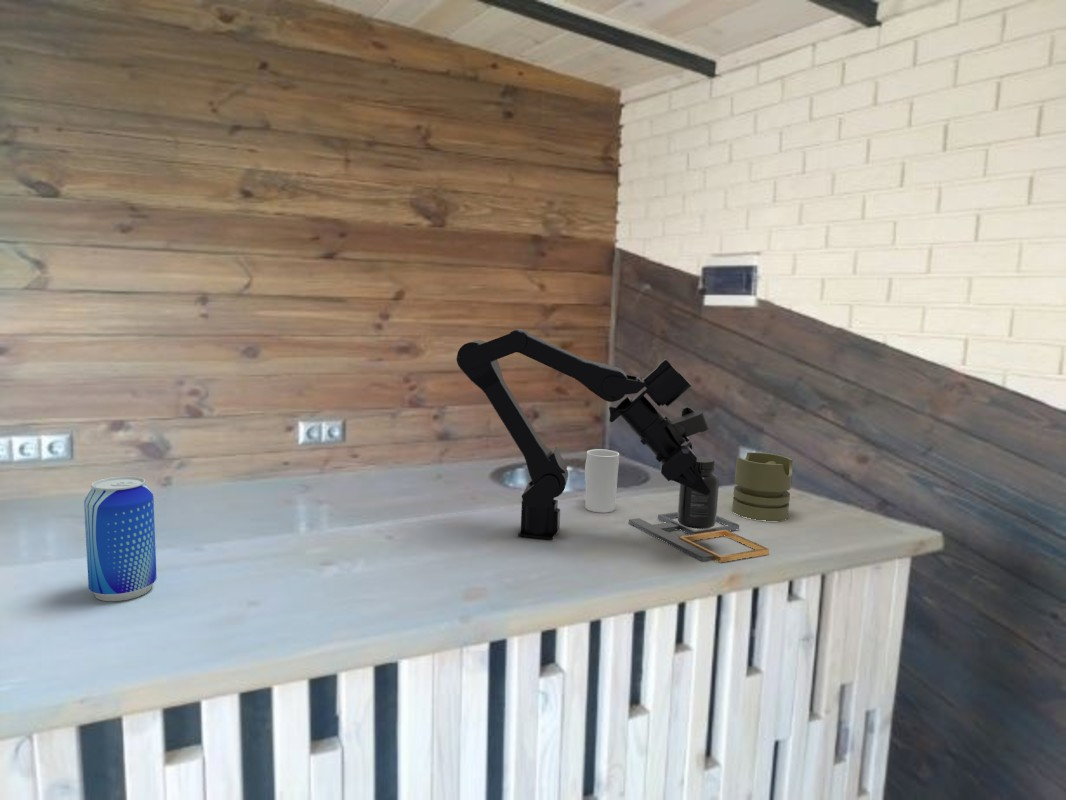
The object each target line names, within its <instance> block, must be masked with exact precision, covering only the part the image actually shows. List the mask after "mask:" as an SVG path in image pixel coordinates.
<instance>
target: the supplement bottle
mask: <svg viewBox="0 0 1066 800" xmlns="http://www.w3.org/2000/svg"><path fill="white" fill-rule="evenodd" d="M696 456H697V462H696V468H697V470H698V472H699V473H700V475H701V476H702V478H703V480H704V481H705V483H706V485H707V486H708V488H709V489H710V493H709V494H708V495H704V494H702V493H699V492H697V491H695V490H693V489H691V488H689V487H687V486H684V485H682V484H680V483H679V488H678V490H679V491H678V492H679V493H678V503H677V504H678V508H677V512H678V518H677V522H678V523H680V524H681V525H683V526H686V527H689V528H691V529H694V530H695V529H696V530H701V529H708V528H714V526H716V523H717V522H716V515H717V513H718V511H717V510H718V500H719V499H718V497H719V487H720V485H719V484H720V483H719V482H720V481H719V480H720V479H719V477H718V476H717V475H716V474H714V473H713V472H714V471H715V460H714V459H713V458H710V457H706V456H699V455H696Z"/></svg>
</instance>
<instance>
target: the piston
mask: <svg viewBox="0 0 1066 800" xmlns="http://www.w3.org/2000/svg"><path fill="white" fill-rule="evenodd" d="M793 462H794V461H793V459H791V458H789V457H786V456H784V455H779V454H775V453H768V452H767V453H766V452H757V451H756V452H755V451H754V452H752V451H751V452H746V457H745V458H742V457H740V456H736V461H735V463H736V464H735V474H734V483H735V484H736V485H735V486H734V488H733V498H732V510H731V511H732V513H733V512H734V513H736V514H738V515H740V516H743V517H747V518H751V519H756V520H766V521H779V522H782V521H781V520H784V521H786V520H788V518H789V509H790V500H791V499H790V497H791V493H790V492H789V490H791V488H792V479H793ZM734 513H733V514H734ZM736 514H735V515H736ZM738 515H737V516H738ZM740 516H739V517H740ZM743 517H742V518H743ZM785 519H786V520H785Z"/></svg>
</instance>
